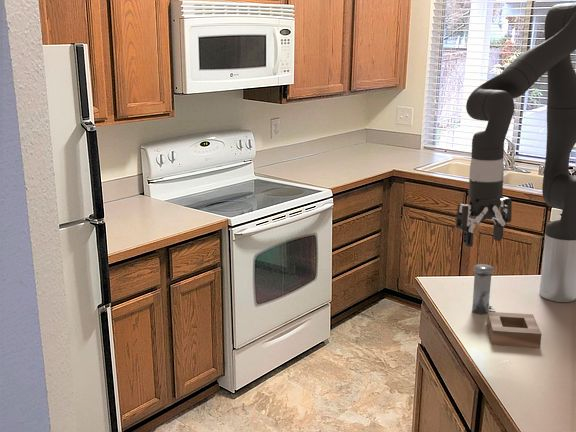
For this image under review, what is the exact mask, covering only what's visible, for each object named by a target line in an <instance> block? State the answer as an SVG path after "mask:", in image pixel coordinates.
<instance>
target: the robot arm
mask: <svg viewBox="0 0 576 432" xmlns="http://www.w3.org/2000/svg"><path fill="white" fill-rule="evenodd" d="M543 27H544V30H543V31H544V32H543V33H544V41H543V42H541V43H539V44H537V45H535V46H533V47H532V48H529V49H528V50H526V51H524V52H523V53H521V54H520V55H518V57H516V58H515V59H514V60H513V61H512V62H511V63H510V64H508V66H507V67H506V68H504V69H503V71H501V73H499V74H497V75H496V76H494V77H491V78H490V79H488V80H487V81H485V82H484V83H482V84H480V85H479V86H477V87H476V88H475V89H474V90H473V91H472V92H471V93H470V95H469V96H468V98H467V100H466V104H465V109H466V113H467V115H468V116H469V117H470V118H471V119H473V120H477V121H484V122H487V125H486V127H485V130H481V131H477V132H475V133H474V134H473V136H472V141H471V157H470V159H471V160H470V165H469V177H468V178H469V180H468V196H469V203H467V204H464V203H458V205H457V211H456V221H455V222H456V223H455V227H456V229H458V230H461V231H463V232H462V233H463V235H462V236H463V238H462V239H463V240H462V242H463V244H464V246H466V247H469V248H471V247H473V244H474V243H473V242H474V229H475V227H476V226H478V225H479V224H480V222H481V221H482V222H483V221H486V220H492V222H493V223H494V224H493V235H492V236H493V237H492V238H493V240H494V241H496V242H501V241H502V240H503V237H504V228H505V226H506V224H507V223H511V222H512V214H513V213H512V211H513V209H512V204H513V203H512V199H511V198H509V197H506V196H503V193H504V192H503V188H504V172H505V166H504V153H505V140H506V136H507V134H508V131H509V127H510V125H511V123H512V119H513V116H514V113H515V101H514V99H517V98H520V97H522V96H523V95H524V94H525V93H526V92H527V91H528V90H529V89H530V88H531V87H532V86H533V85H535V83H537V82H538V80H539V79H540V78H541V77H542V76H544V75H545V74H546V72H547V99H546V100H547V101H546V145H545V146H546V152H545V161H544V162H545V163H544V169H543V176H542V177H543V179H542V187H541V188H542V190H541V192H542V199H543V201H544V202H545V203H546V204H547V206H549V207H552V208H555V209H558V210H561V217H560V219H557V220H552V221H551V220H550V221H548V222H547V223H546V225H545V231H544V233H545V234H544V243H543V254H542V263H541V274H540V283H539V284H540V285H539V291H538V292H539V293H538V294H539V296H540V297H542V298H543V299H545V300H547V301H551V302H557V303H571V302H574V301H576V175H573V174H570V168H569V167H570V165H569V164H570V157H571V153H572V150H573V149H574V147H575V145H576V70H575V68H574V66H573V62H572V58H571V56H572V55H571V54H572V53H573V52H575V51H576V2H566V3H559V4H555V5H553V6H551V7H550V8H549V9H548V11H547V13H546V15H545V20H544V26H543ZM499 209H500V210H499Z"/></svg>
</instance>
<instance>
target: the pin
mask: <svg viewBox="0 0 576 432" xmlns="http://www.w3.org/2000/svg"><path fill="white" fill-rule="evenodd" d="M472 270H473V272H474V277H473V278H474V279H473V280H474V281H473V293H472V309H471V310H472V313H474V314H476V315H488V311H489V310H490V309H489V306H490V297H491V284H492V283H491V282H492V274H493V273H494V266H492V265H490V264H486V263H485V264H484V263H477V264H475V265H473V269H472Z"/></svg>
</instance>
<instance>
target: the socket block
mask: <svg viewBox="0 0 576 432" xmlns="http://www.w3.org/2000/svg"><path fill="white" fill-rule="evenodd" d="M486 315H487V316H486V317H487V318H486V327H487V331H488V334H489V338H490V343H491V345H492V346H508V347H519V346H522V347H521V348H523V347H524V348H534V349H536V348H537V349H540V348H541V341H542V334H543V333H542V331H541V330H540V326H539V325H538V323H537V320H536V318H535V316H534V314H532V313H519V312H518V313H515V312H499V311H496V312H488V313H487V314H486Z"/></svg>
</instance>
